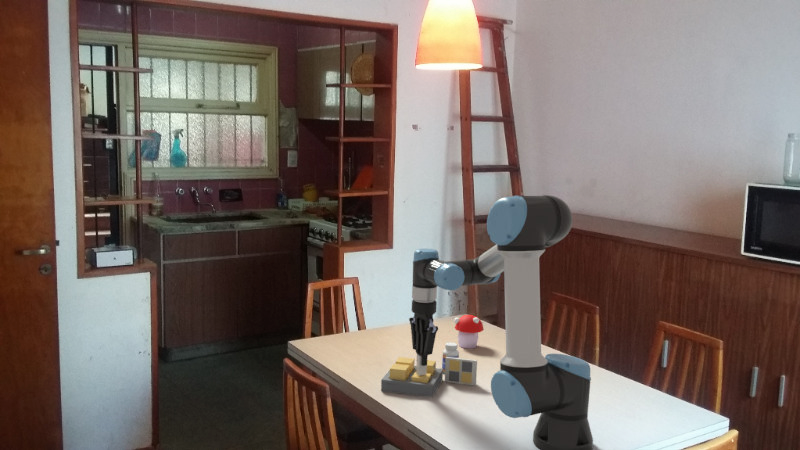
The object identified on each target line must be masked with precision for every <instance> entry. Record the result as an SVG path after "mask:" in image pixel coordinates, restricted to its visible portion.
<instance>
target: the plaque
mask: <svg viewBox="0 0 800 450" xmlns="http://www.w3.org/2000/svg"><path fill="white" fill-rule="evenodd" d="M477 371H478V359H470V358H461V357H459V358H453V357H446V360H445V374H444V383H451V384H452V383H453V384H460V385H467V386H468V385H469V386H476V385H477V376H478V375H477Z"/></svg>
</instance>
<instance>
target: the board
mask: <svg viewBox="0 0 800 450" xmlns="http://www.w3.org/2000/svg"><path fill="white" fill-rule="evenodd" d="M415 372H417V365H414V370H413V372H412V373H409V377H408V378H407V380H406V381H405V380H397V379H389V378H390V369H389V370H388V371H387V372H386V373H385V374H384V376H383V377H382V378H381V385H380V386H381V388H380V391H381V392H388V393H397V394H402V395H409V396H410V395H411V396H418V397H419V396H420V397H427V398H433V396H434V395H435V393H436V392H437V390H438V388H439V387H440V385H441V383H442V381H443V374H444V373H443V369H442V368H437V367H436V371H435V374H434V375H433V376H431V380H430V381H429V383H422V382H414V381H412V376H413V375H414V373H415Z"/></svg>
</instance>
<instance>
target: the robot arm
mask: <svg viewBox="0 0 800 450" xmlns="http://www.w3.org/2000/svg"><path fill="white" fill-rule="evenodd" d="M572 213H573V212H572V210H571V209H570V207H569V205H568V204H567V203H566V202H565V201H564V200H563V199H561V198H559V197H557V196H555V195H550V194H549V195H548V194H547V195H546V194H545V195H512V196H505V197H501V198H499V199H498V200H496V201H495V202H494V203H493V206H491V207H490V209H489V212H488V215H487V218H486V230H487V235H488V236H489V239H490V240H491V242H492V243H494V244H495V245H494V246H492V247H490V248H489V249H488V250H487V251H485V252H483V253H482V254H480V255H479V256H477V257H476V258H474V259H465V260H448V261H445V260H440V256H439V250H437V249H434V248H418V249H416V250H414V253H413V261H412V288H411V299H412V300H411V312H412V313H413V316H412V317H409V318H408V321H409V324H410V330H411V331H410V333H411V343H412V349H413V351H415V352H416V353H415V354H416V366H417V373H416V374H417V375H418V376H422V375H426V373H427V360H428V356H430V355H433V353H434V352H433V351H434V350H433V349H434V347H435V346H434V345H435V341H436V336H437V332H438V331H439V327H438V325H435V323H434V314H436V313H437V294H438V293H437V292H438V287H439V288H440V289H442V290H446V291H447V290H448V291H456V290H458V289H459V288H461V287H465V286H477V285H489V284H492V283H496V282H497V281H499V278H500V276H501V274H502V273H503V275H504V276H503V279H504V282H503V283H504V315H505V316H504V317H505V319H504V320H505V322H504V323H505V355H504V356H502V358H500V361H499V364H500V369H499V370H498V371H497V372H495V373H494V374H493V375H492V377H491V380H490V391H491V395H492V398H493V400H494V401H493V402H495V405H496V406H497V407H498V409H499V410H500V411H501V413H502V414H503V415H505V416H507V417H509V418H512V419H517V418H529V417H530V416H533V415H539V414H540V415H539V417H538V420H537V422H536V425H535V427H534V430H533V436H532V442H533V444H534V445H535V447H537V448H538V449H539V450H593V446H594V445H593V444H594V438H593V435H592V430H591V427H590V423H589V418H588V416H589V415H588V414H589V402H590V393H591V392H590V391H591V380H592V377H591V367H590V364H589V362H587V361H586V360H584V359H582V358H579V357H576V356H573V355H570V354H569V355H568V354H561V353H547V354H546V355H545V356H544V355H543V354H542V332H541V331H542V328H541V327H542V326H541V325H542V323H541V286H540V285H541V284H540V281H541V280H540V278H541V277H540V276H541V275H540V257H541V256H542V255H543V254H544V252H546V248H549V247H552V246H554V245H556V244H557V243H559V242H560V241H562V240H563V239H564V238H566V237H567V235H568V234H569V232H570V231H571V230H572V227H573V219H574V218H573V214H572Z"/></svg>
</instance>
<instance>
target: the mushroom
mask: <svg viewBox="0 0 800 450" xmlns="http://www.w3.org/2000/svg"><path fill="white" fill-rule="evenodd" d="M453 321H454V323H455V326H454V329H455V330H456V331H458V333H457V340H458V342H457V343H458V346H459V347H460V348H463V349H475V348H477V346H478V340H479V333H481V332H483V331H484V330H485V329H484V325H483V321H482V320H481V319H480V318H479V317H478V316H477V315H473V314H464V315H462V316H460V317H455V318H454V320H453Z"/></svg>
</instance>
